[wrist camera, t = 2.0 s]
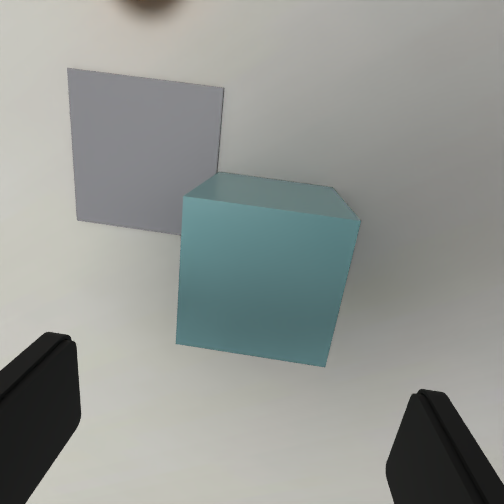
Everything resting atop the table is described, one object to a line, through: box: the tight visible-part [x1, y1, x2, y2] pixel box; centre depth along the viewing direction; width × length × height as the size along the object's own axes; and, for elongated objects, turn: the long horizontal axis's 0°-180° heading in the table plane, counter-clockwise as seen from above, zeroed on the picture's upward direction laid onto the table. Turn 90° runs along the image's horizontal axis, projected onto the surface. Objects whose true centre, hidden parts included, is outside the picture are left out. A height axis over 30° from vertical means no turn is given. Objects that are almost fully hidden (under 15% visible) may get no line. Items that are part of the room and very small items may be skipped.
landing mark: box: [67, 68, 224, 235], centre depth 23 cm, size 10×10×1 cm
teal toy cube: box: [176, 172, 361, 367], centre depth 20 cm, size 8×8×9 cm
